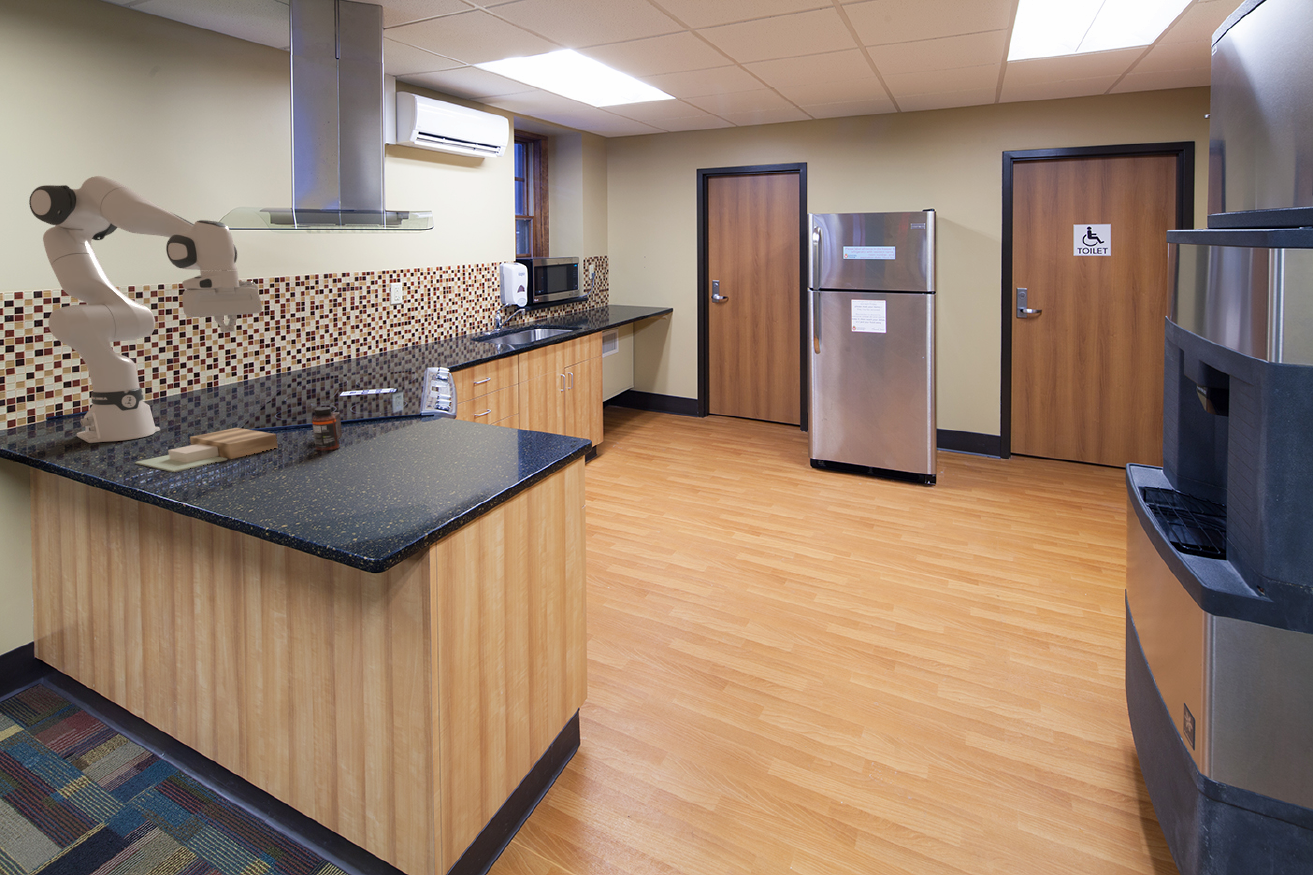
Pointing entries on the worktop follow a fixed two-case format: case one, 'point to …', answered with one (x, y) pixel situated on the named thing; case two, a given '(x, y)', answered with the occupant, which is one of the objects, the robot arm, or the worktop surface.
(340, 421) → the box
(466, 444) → the worktop surface
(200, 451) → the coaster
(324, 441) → the supplement bottle
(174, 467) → the mat
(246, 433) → the serving board
